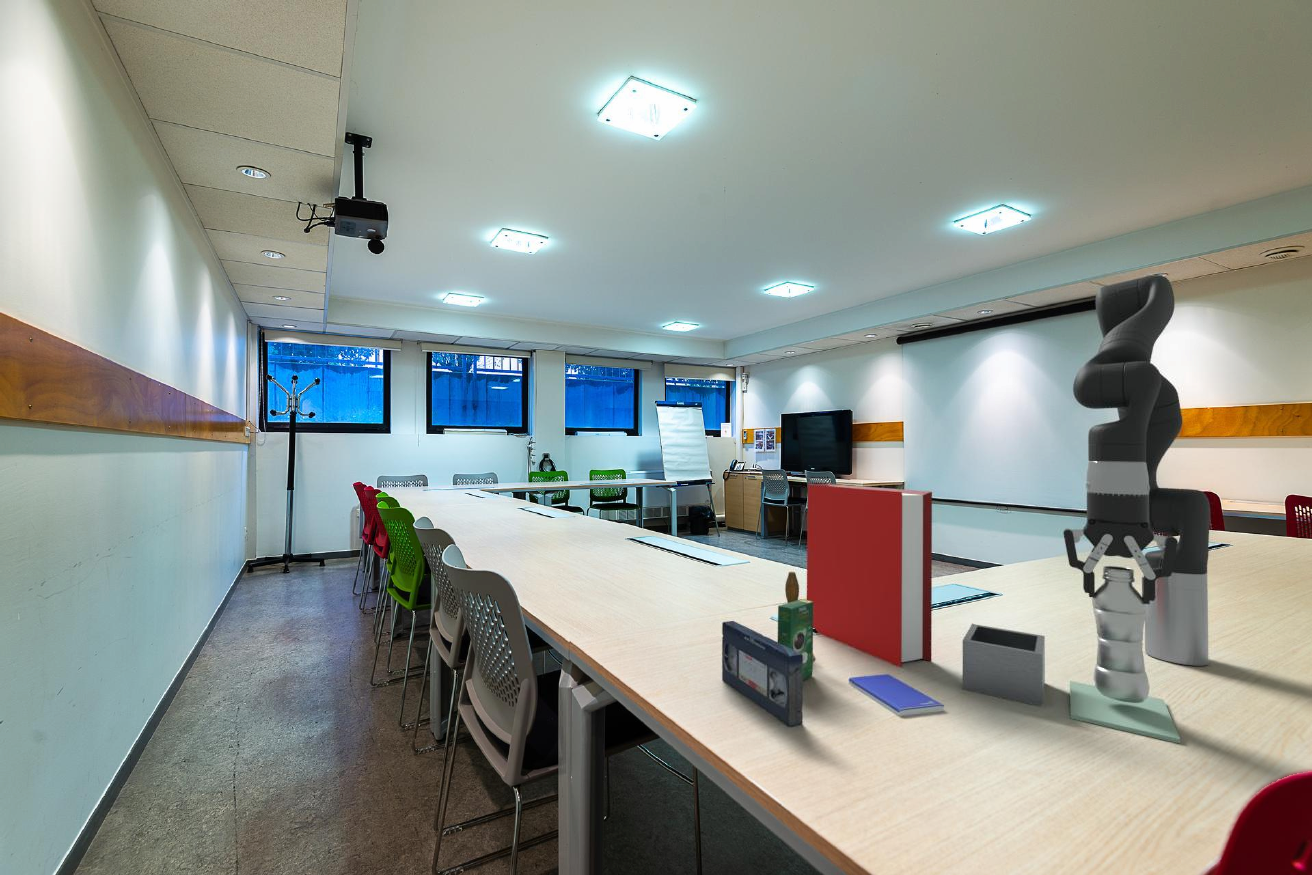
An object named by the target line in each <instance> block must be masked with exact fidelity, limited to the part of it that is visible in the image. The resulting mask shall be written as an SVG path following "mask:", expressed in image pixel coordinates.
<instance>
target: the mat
mask: <svg viewBox="0 0 1312 875" xmlns="http://www.w3.org/2000/svg"><path fill="white" fill-rule="evenodd" d="M1069 698H1070V699H1069V700H1070V702H1069V703H1070V706H1069V707H1070V719H1073V720H1077V721H1081V722H1085V723H1090V724H1094V725H1098V726H1102V727H1107V728H1111V729H1115V730H1120V731H1125V732H1128V733H1133V734H1137V735H1141V736H1146V737H1150V738H1155V739H1159V740H1163V741H1167V742H1172V743H1176V744H1181V738H1180V735H1179V733H1178V731H1177V729H1176V726H1175V724H1174V721H1173V718H1172V717H1171V715H1170V712H1169V709H1168V707H1167V704H1166V702H1165V700H1164V699H1162V698H1158V697H1153V696H1148V697H1147V698H1146V699H1145V701H1144V702H1141V703H1130V702H1123V701H1119V700H1115V699H1111V698H1109V697H1106V696H1104V695H1102V694H1101V693H1100V692H1099V691H1098V689H1097V688H1096V686H1095V685H1093V684H1089V683H1088V684H1087V683H1083V682H1078V681H1072V680H1070V681H1069Z"/></svg>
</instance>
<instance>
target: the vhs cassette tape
mask: <svg viewBox="0 0 1312 875" xmlns="http://www.w3.org/2000/svg"><path fill="white" fill-rule="evenodd" d="M721 624H722V626H721V632H722V633H721V634H722V637H721V638H722V639H721V640H722V641H721V642H722V643H721V645H722V646H721V675H722V676H721V679H722V682H724V683H725V684H726V685H727V686H729V687H731V688H732V689H734V691H736V692H737V693H739V694H740V695H741V696H743V697H745V698H747V699H748V700H749V701H751V702H752V703H753V704H754V705H756V706H757V707H759V708H760V709H762V710H764V711H765V712H766V713H768V714H769V715H771V716H772V717H774V719H777V720H778V721H779V722H781V723H782V724H784V725H785V726H786V727H790V728H791V727H795V726H798V725H803V723H804V721H803V716H804V715H803V712H804V711H803V706H804V705H803V704H804V697H803V696H804V695H803V694H804V693H803V689H804V688H803V686H804V682H803V681H804V680H803V671H802V667H803V655H802V654H800V653H797V652H796V651H794V650H792V649H790V648H788V647H786V646H784V645H782V644H780V643H778V641H777V640H774V639H772V638H770V637H768V636H765V635H763V634H762V633H759V632H757V631H755V630H754V629H752V628H749V627H747V626H745V625H743V624H740V623H738V622H736V621H734V620H731V621H728V620H727V621H722V623H721Z"/></svg>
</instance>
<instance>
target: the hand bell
mask: <svg viewBox="0 0 1312 875" xmlns="http://www.w3.org/2000/svg"><path fill="white" fill-rule="evenodd" d="M784 587H785V589H784V590H785V597H786V601H787V603H790V602H793V601H796V600H799V597H800V596H799V595H800V584H799V581H798V578H797V574H796V571H789V572H788V574H787V577H786V580H785V586H784ZM815 658H816V657H815V654H814V653H813V661H815Z"/></svg>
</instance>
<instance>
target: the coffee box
mask: <svg viewBox="0 0 1312 875" xmlns="http://www.w3.org/2000/svg"><path fill="white" fill-rule="evenodd" d="M777 607H778V608H777V642H778V643H780V644H782V645H784V646H786V647H788V648H790V649H792V650H794V651H796V652H797V653H800V654H802V655H803V667H802V671H803V681H805V680H808V679H809V678H810V677H812V676H813V669H814V668H813V667H814V666H813V665H814V664H813V662H814V660H813V654H814V652H813V651H814V631H813V601H809V600H807V599H802V598H801V599H800V598H798V600H796V601H793V602H790V603H788V602H787V603H784V604H783V603H782V604H780V605H778V606H777Z"/></svg>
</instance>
